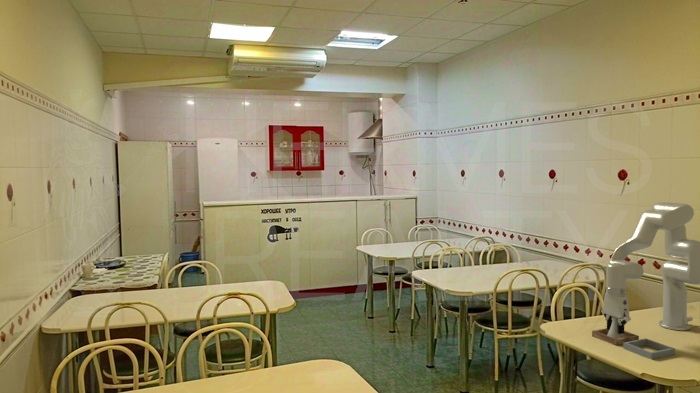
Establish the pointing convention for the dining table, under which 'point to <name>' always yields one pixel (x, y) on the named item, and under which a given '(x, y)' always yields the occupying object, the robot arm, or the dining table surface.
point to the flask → (614, 329)
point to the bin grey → (663, 349)
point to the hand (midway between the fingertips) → (615, 330)
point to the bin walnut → (603, 336)
